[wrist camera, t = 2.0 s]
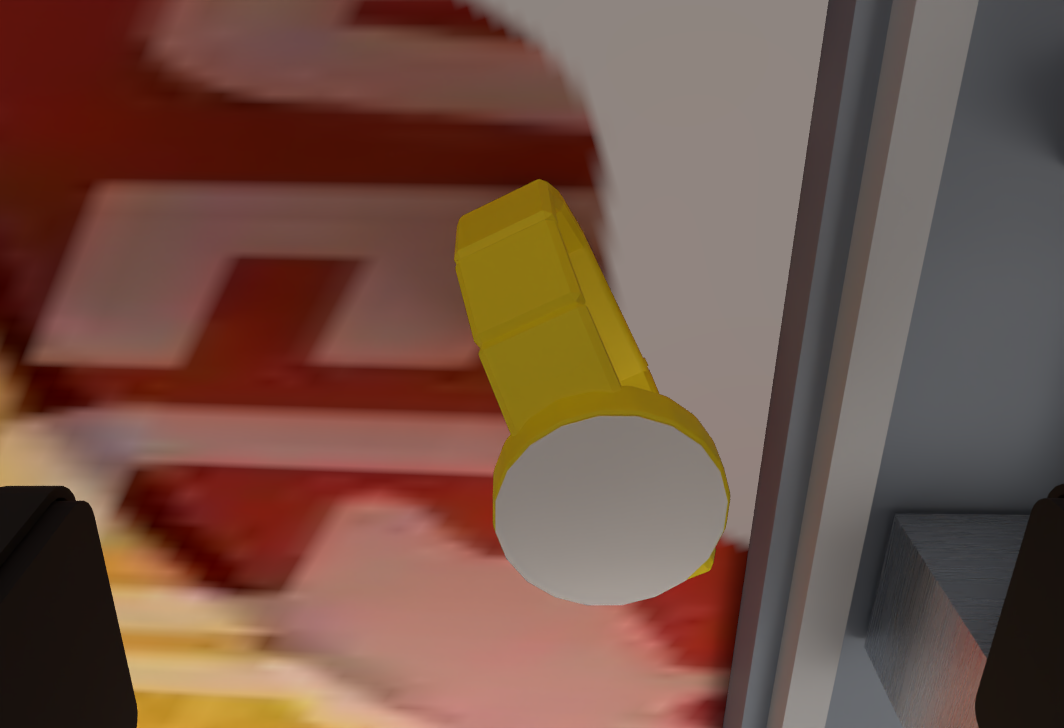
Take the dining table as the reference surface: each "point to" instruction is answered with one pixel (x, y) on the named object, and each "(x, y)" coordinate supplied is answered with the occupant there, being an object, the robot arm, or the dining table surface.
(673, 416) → the watch
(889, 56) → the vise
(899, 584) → the sliding jaw
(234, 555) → the dining table surface
